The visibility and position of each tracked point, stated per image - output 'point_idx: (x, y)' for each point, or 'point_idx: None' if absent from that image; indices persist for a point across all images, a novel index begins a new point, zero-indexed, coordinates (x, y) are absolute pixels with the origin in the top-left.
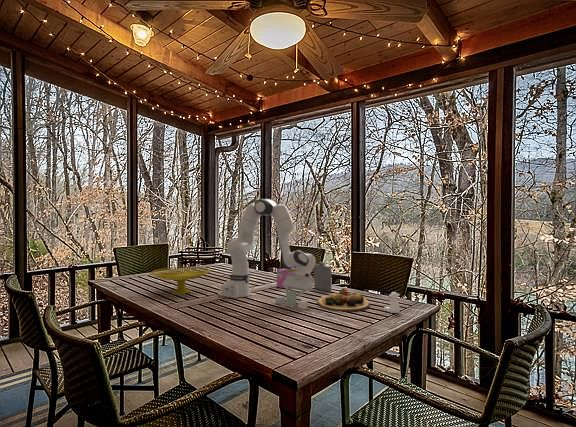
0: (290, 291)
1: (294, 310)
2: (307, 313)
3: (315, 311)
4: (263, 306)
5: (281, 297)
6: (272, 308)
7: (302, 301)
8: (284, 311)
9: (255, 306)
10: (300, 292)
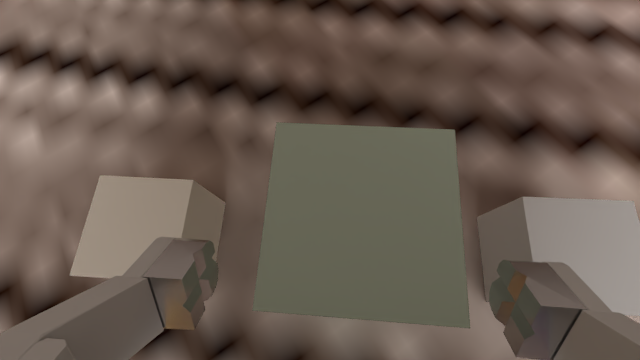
0: (394, 217)
1: (222, 113)
2: (75, 105)
3: (14, 200)
4: (555, 54)
5: (548, 234)
6: (436, 53)
7: (137, 217)
8: (287, 44)
9: (611, 16)
10: (116, 283)
